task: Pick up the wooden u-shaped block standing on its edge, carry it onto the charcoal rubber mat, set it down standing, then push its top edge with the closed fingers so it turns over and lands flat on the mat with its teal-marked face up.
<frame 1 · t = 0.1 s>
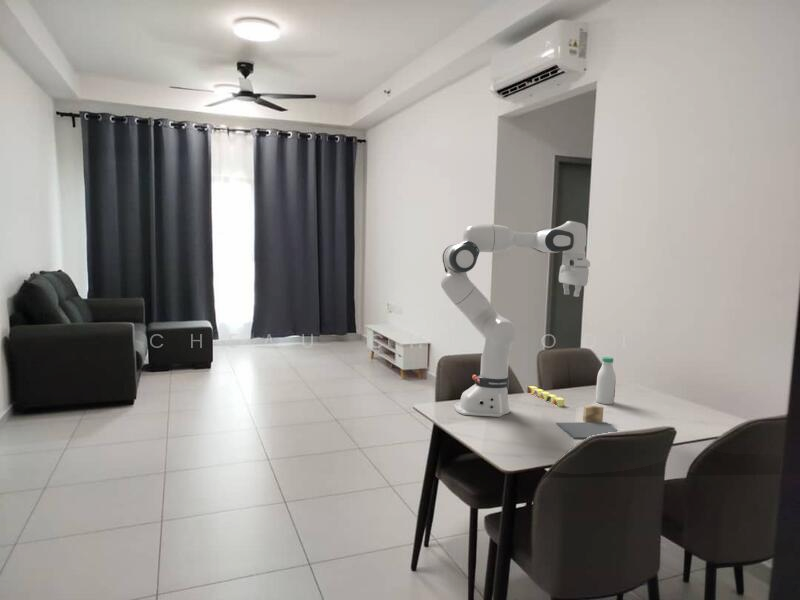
hand: (571, 295, 223), 48 cm above the table, tool pointing down, fingers open, 8 cm apart
wooden u-shaped block: (592, 421, 214), on the table
milk bottle: (604, 402, 241), on the table
mat: (590, 431, 202), on the table
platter: (542, 401, 242), on the table
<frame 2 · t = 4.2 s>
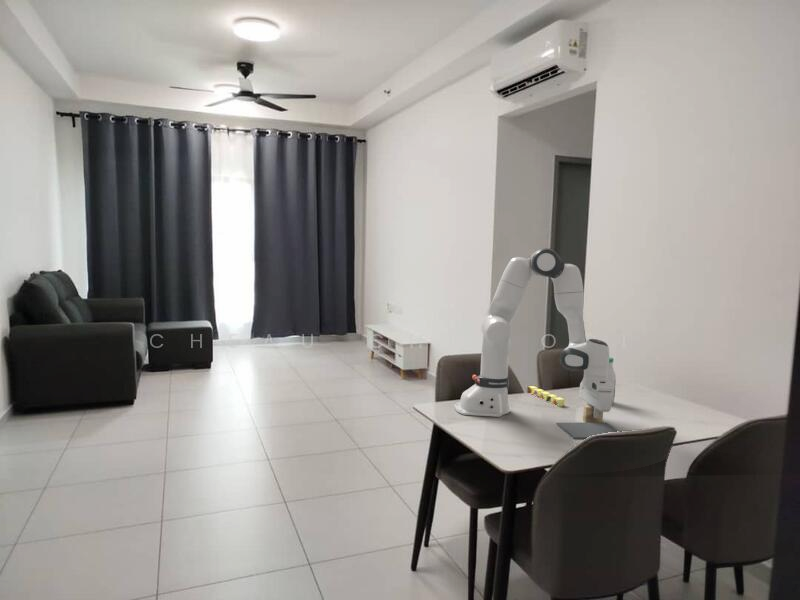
hand: (593, 416, 213), 2 cm above the table, tool pointing down, fingers closed on wooden u-shaped block, 2 cm apart
wooden u-shaped block: (592, 421, 214), on the table, touching gripper
everything else where it was.
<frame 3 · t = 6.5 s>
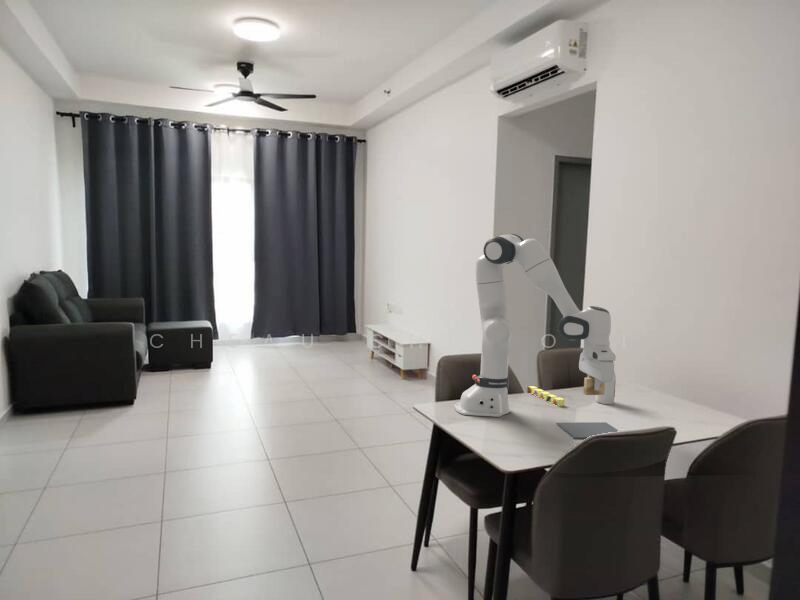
hand: (593, 388, 200), 16 cm above the table, tool pointing down, fingers closed on wooden u-shaped block, 2 cm apart
wooden u-shaped block: (593, 394, 201), point 14 cm above the table, touching gripper
everything else where it was.
when the fingers open (3 cm above the table, at t = 8.9 s): wooden u-shaped block stays where it is, resting on mat.
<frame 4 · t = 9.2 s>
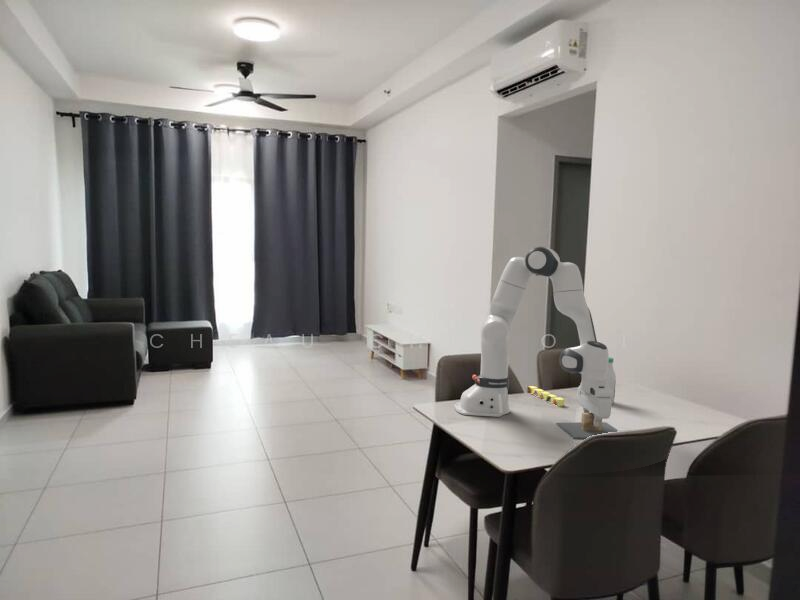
hand: (591, 422, 202), 3 cm above the table, tool pointing down, fingers open, 5 cm apart
wooden u-shaped block: (591, 429, 202), point 1 cm above the table, touching mat
everything else where it was.
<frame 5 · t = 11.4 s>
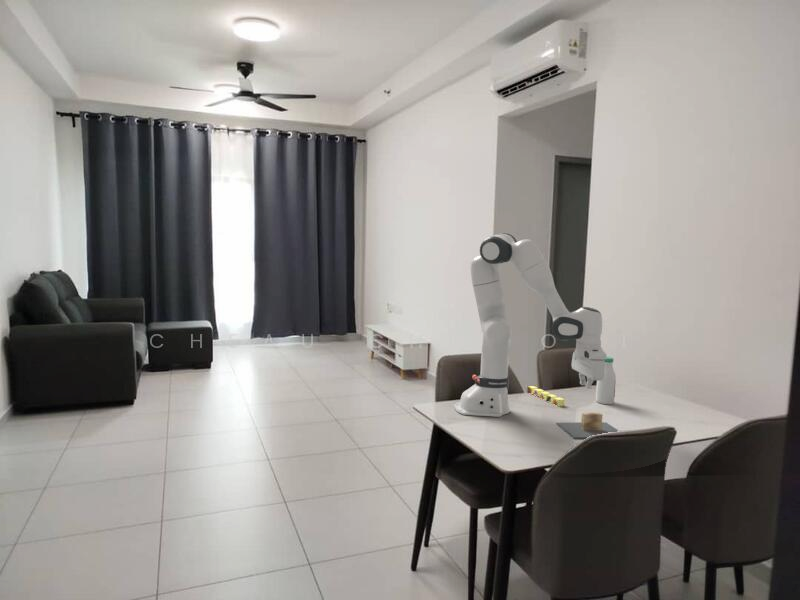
hand: (585, 386, 207), 15 cm above the table, tool pointing down, fingers open, 3 cm apart
nothing on the table moved.
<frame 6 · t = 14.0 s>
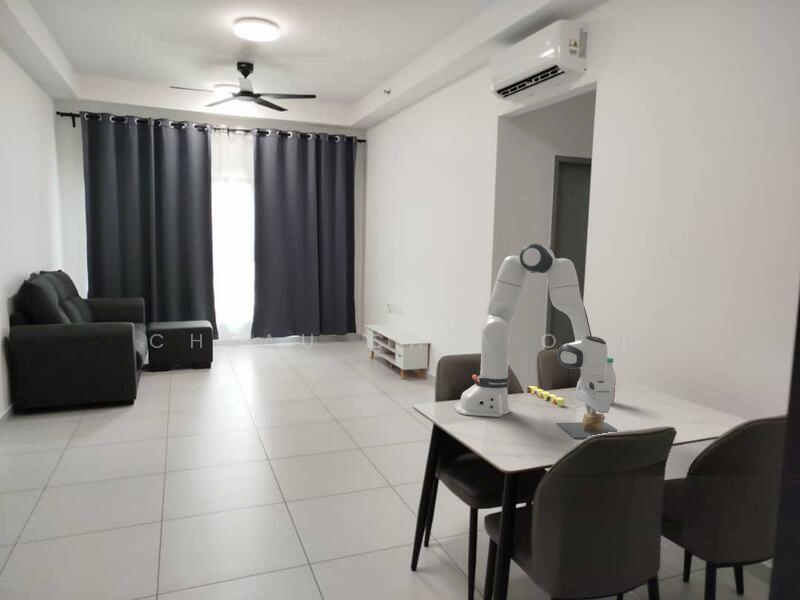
hand: (590, 417, 203), 5 cm above the table, tool pointing down, fingers closed
wooden u-shaped block: (591, 428, 202), point 1 cm above the table, tilted 19°, touching mat
everything else where it was.
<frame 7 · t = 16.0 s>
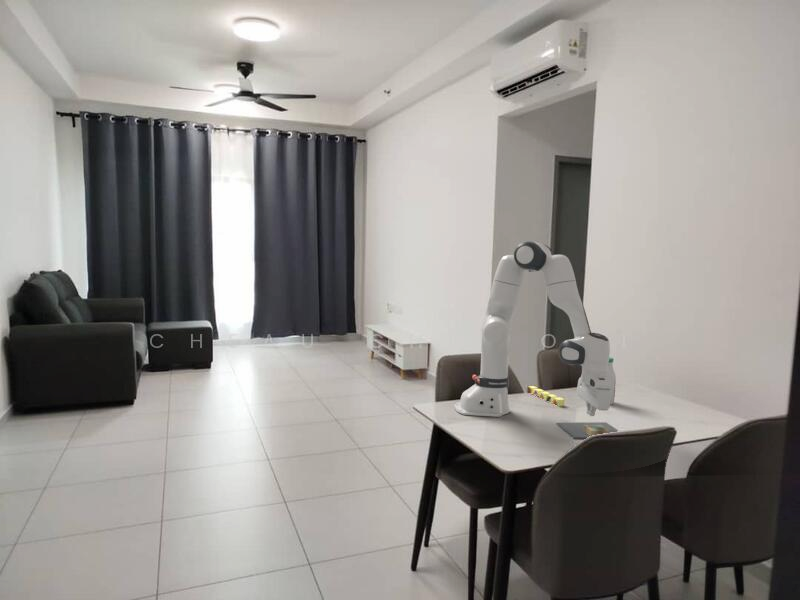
hand: (590, 414, 200), 6 cm above the table, tool pointing down, fingers closed
wooden u-shaped block: (592, 427, 201), point 2 cm above the table, tilted 90°, touching mat
everything else where it was.
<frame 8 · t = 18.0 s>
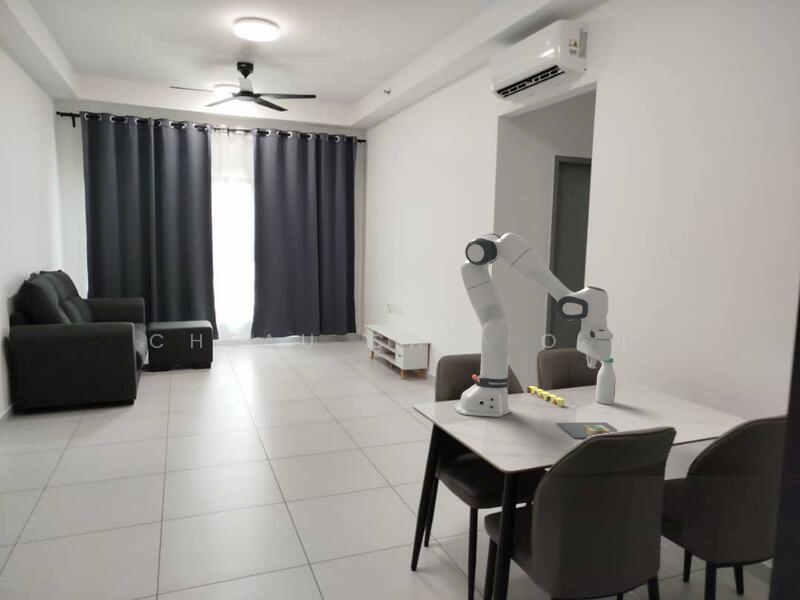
hand: (591, 367, 203), 23 cm above the table, tool pointing down, fingers closed
nothing on the table moved.
at the end: wooden u-shaped block tilted 90°; wooden u-shaped block inside the target area on the mat (1.0 cm from its centre), point 1.6 cm above the mat's base; the gripper is holding nothing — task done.
